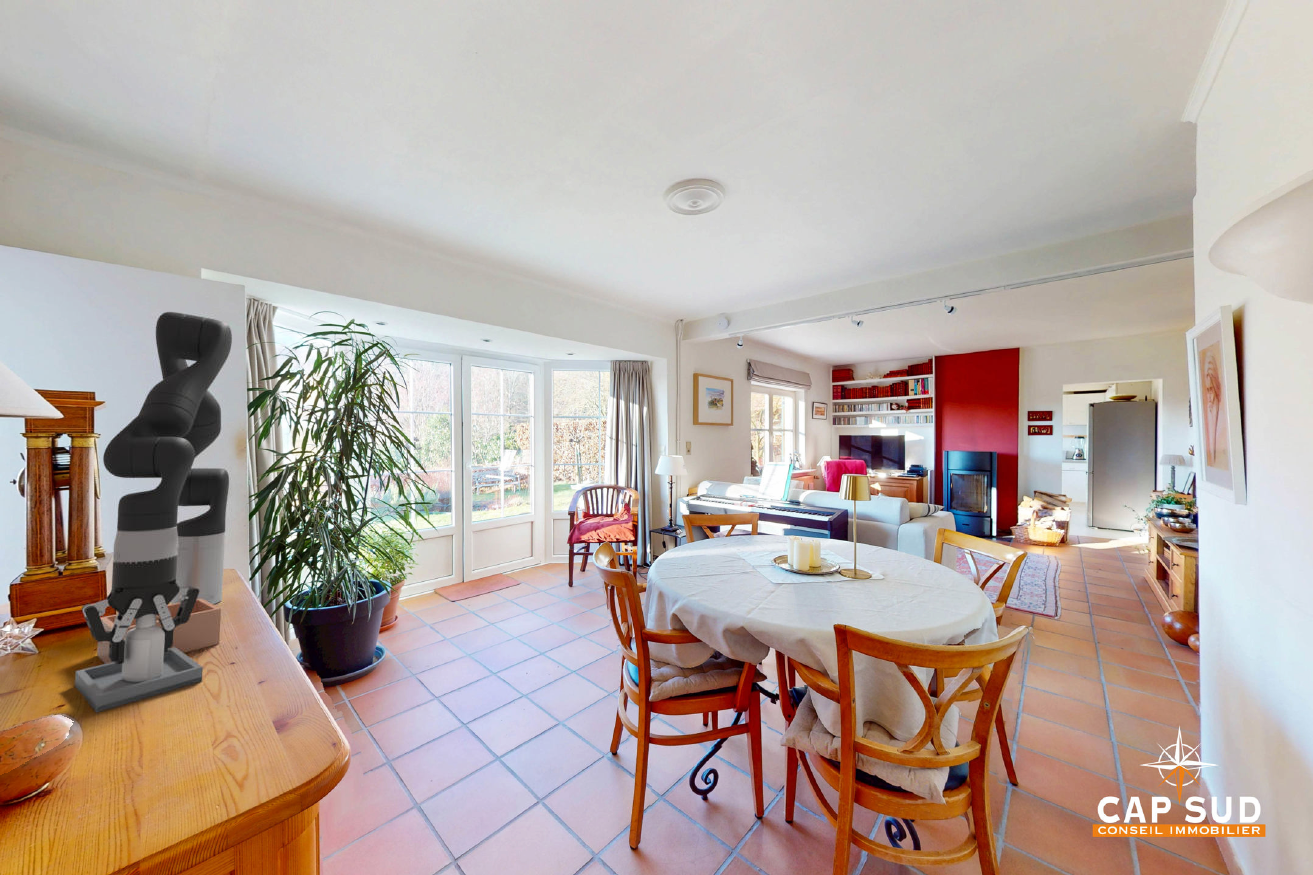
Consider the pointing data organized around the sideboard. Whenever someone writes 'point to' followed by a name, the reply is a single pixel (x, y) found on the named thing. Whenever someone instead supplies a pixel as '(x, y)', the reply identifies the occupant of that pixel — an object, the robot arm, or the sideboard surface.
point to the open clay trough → (179, 629)
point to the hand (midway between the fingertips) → (141, 656)
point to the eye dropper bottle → (143, 650)
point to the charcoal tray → (111, 690)
